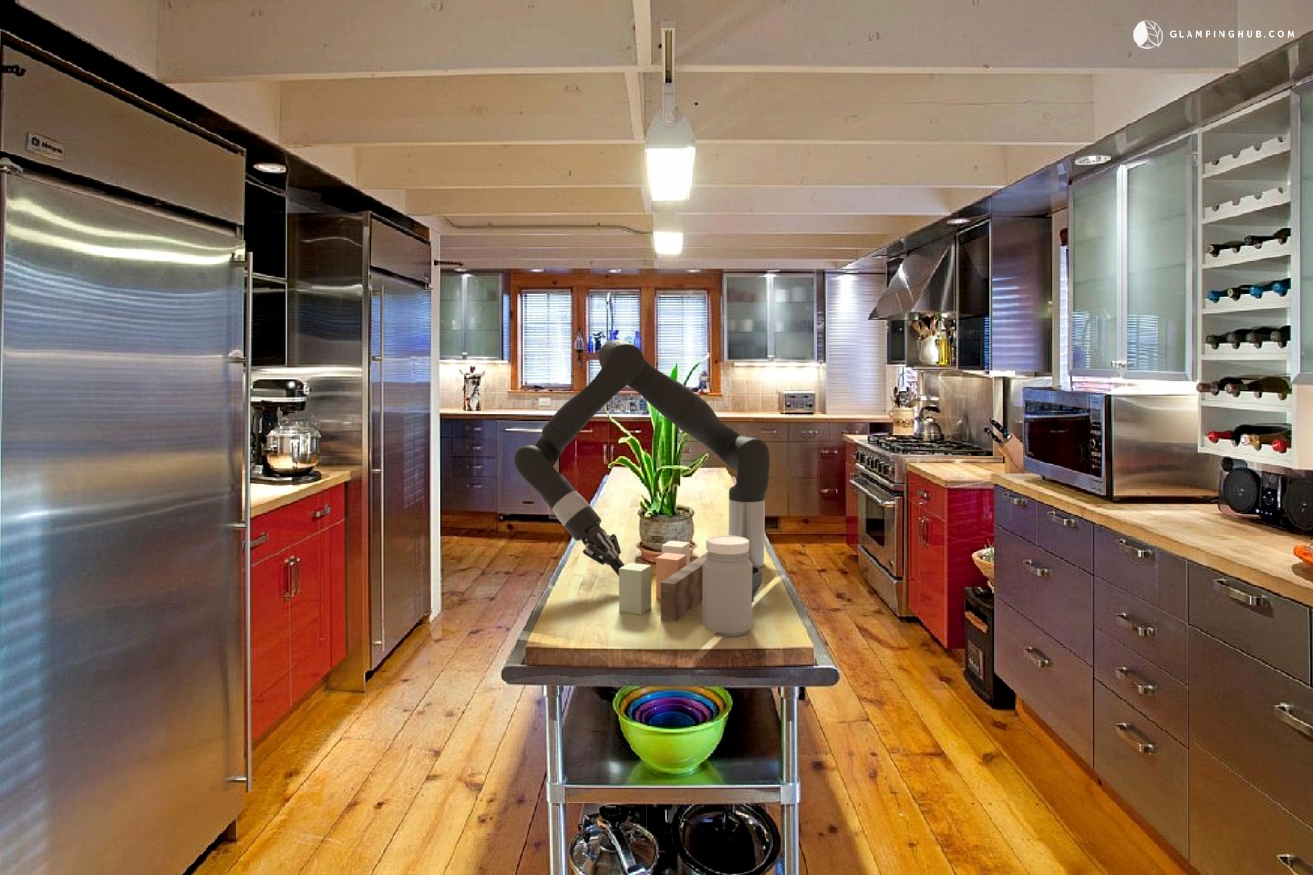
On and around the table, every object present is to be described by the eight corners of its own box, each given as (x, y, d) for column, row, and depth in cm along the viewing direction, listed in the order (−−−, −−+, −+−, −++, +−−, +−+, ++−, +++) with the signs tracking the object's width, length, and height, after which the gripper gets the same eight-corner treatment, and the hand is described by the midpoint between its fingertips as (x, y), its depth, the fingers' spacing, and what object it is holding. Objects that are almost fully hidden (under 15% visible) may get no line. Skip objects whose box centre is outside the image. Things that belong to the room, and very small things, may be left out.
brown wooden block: (655, 579, 186) (655, 542, 185) (723, 587, 179) (724, 550, 178) (596, 616, 159) (596, 574, 158) (674, 628, 152) (674, 583, 151)
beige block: (670, 577, 183) (670, 540, 182) (689, 580, 181) (689, 542, 180) (661, 583, 178) (661, 545, 178) (681, 585, 176) (681, 547, 176)
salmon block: (665, 592, 172) (665, 552, 171) (686, 594, 170) (686, 554, 169) (656, 598, 167) (656, 557, 166) (677, 601, 165) (677, 560, 164)
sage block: (629, 604, 163) (629, 562, 162) (651, 607, 161) (651, 565, 160) (619, 611, 158) (618, 568, 158) (641, 614, 156) (641, 571, 156)
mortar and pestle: (716, 593, 175) (717, 541, 174) (757, 593, 175) (758, 541, 174) (721, 609, 164) (721, 554, 163) (765, 609, 164) (766, 554, 163)
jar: (747, 621, 156) (748, 534, 155) (755, 638, 147) (756, 545, 145) (699, 621, 156) (700, 534, 154) (704, 638, 146) (705, 545, 145)
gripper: (572, 509, 168) (622, 571, 165) (600, 500, 181) (647, 557, 177) (551, 531, 171) (600, 592, 167) (580, 520, 183) (626, 576, 179)
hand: (624, 573), depth 172 cm, fingers closed
